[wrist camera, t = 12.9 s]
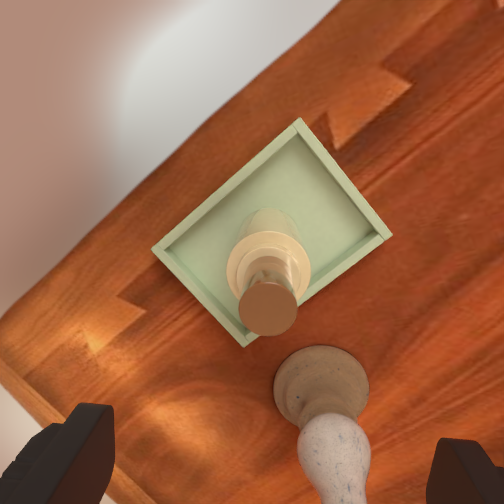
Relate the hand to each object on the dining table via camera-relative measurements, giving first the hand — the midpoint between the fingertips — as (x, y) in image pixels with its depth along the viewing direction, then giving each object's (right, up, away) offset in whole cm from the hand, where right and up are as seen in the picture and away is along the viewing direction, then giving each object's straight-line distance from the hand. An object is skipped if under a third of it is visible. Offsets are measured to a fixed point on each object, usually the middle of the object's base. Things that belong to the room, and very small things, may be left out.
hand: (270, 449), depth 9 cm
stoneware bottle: (+1, +6, +23) cm, 23 cm away
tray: (+1, +6, +23) cm, 24 cm away
